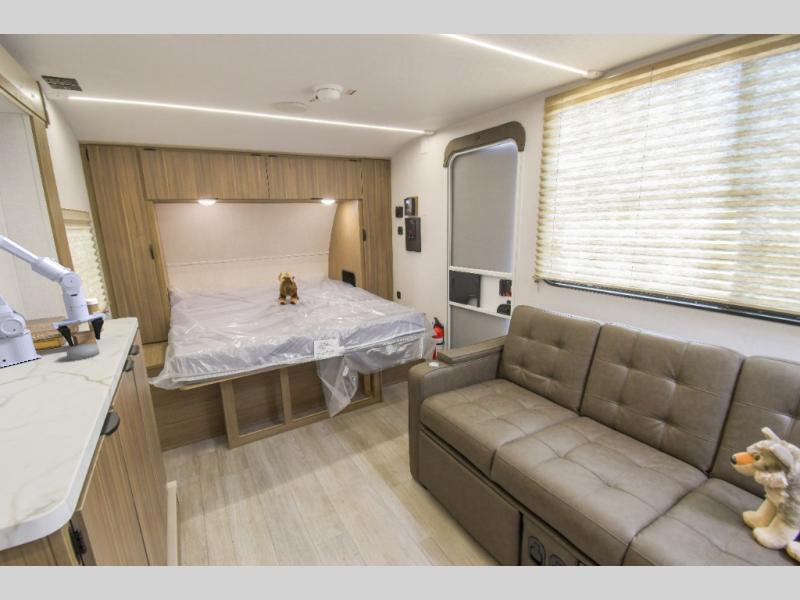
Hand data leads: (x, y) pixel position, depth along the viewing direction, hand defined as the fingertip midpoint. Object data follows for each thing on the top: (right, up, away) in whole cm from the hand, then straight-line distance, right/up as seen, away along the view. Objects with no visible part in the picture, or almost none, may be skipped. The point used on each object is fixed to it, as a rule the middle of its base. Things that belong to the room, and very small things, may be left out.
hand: (85, 342), depth 131 cm
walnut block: (0, -1, 0) cm, 2 cm away
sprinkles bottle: (-10, +2, +17) cm, 20 cm away
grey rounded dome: (+7, -3, -9) cm, 12 cm away
